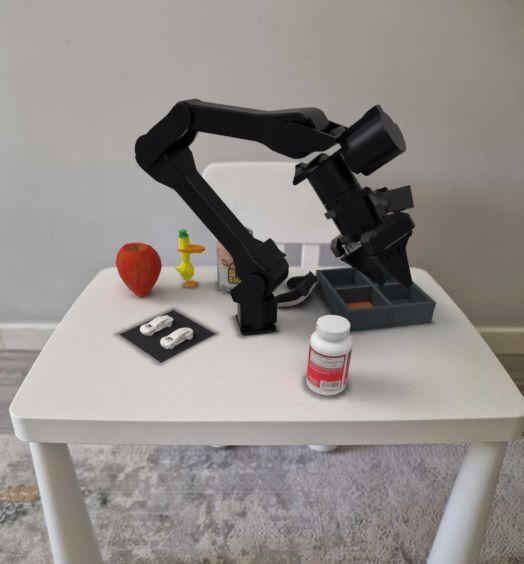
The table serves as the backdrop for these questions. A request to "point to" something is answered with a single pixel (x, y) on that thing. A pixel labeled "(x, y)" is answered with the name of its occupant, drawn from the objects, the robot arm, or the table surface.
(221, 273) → the beverage can
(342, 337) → the pill bottle
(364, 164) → the robot arm
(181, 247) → the toy figure
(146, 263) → the apple
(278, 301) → the gaming controller
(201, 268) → the table surface
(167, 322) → the black mat with cars
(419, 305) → the tray
